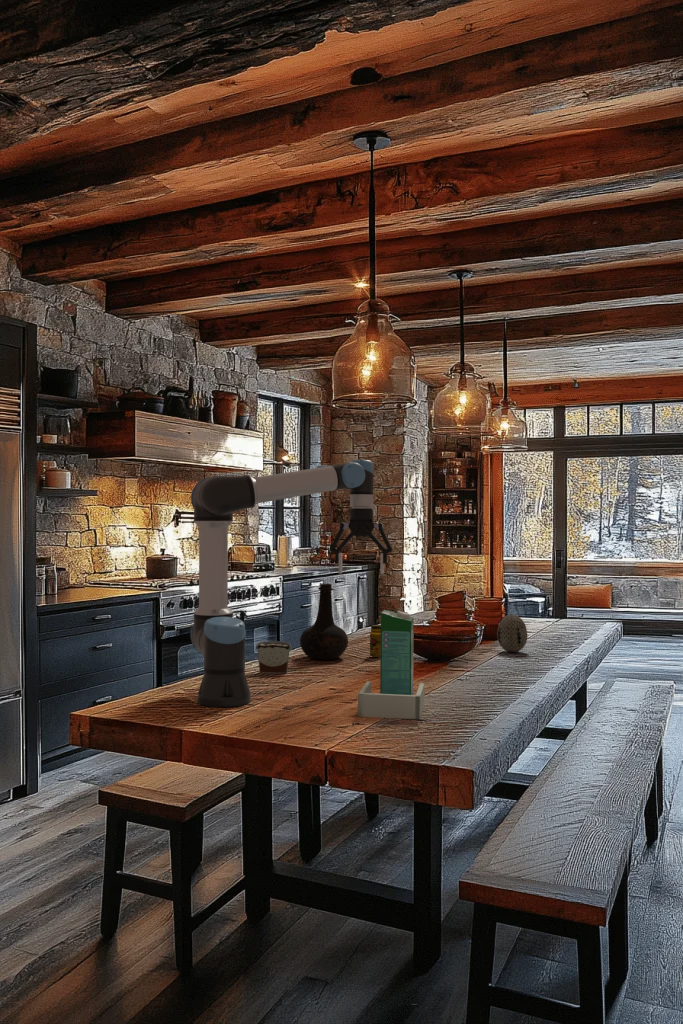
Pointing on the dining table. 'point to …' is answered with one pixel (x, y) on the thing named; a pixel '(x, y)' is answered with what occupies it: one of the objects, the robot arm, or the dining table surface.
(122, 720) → the dining table surface
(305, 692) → the dining table surface
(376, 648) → the condiment
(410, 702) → the box
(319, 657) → the glass bottle
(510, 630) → the decorative egg
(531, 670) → the dining table surface
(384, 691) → the milk carton
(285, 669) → the food container
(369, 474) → the robot arm
